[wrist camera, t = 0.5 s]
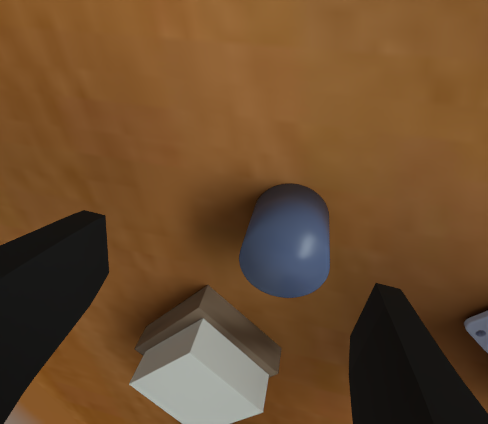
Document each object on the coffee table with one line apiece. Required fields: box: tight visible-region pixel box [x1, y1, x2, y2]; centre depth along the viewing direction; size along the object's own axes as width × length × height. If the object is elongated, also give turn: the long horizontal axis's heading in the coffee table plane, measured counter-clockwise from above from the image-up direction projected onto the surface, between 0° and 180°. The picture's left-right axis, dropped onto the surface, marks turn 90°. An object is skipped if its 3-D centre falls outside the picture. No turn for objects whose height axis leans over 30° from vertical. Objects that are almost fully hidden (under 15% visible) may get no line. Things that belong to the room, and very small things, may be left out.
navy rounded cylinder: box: [239, 184, 330, 298], centre depth 18 cm, size 4×4×4 cm
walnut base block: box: [135, 285, 281, 377], centre depth 25 cm, size 7×7×2 cm
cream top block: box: [129, 318, 269, 424], centre depth 23 cm, size 6×6×2 cm
